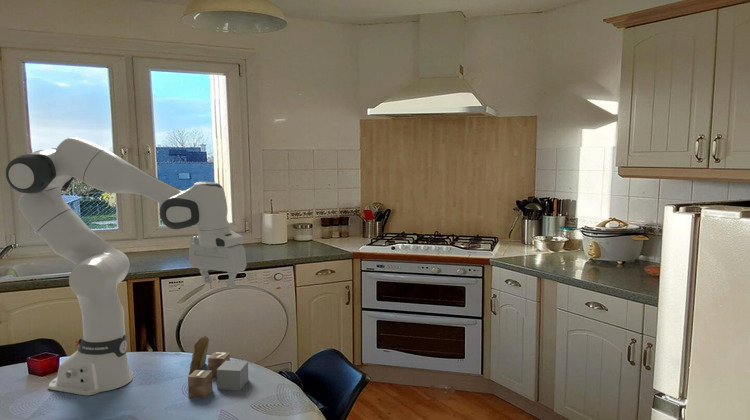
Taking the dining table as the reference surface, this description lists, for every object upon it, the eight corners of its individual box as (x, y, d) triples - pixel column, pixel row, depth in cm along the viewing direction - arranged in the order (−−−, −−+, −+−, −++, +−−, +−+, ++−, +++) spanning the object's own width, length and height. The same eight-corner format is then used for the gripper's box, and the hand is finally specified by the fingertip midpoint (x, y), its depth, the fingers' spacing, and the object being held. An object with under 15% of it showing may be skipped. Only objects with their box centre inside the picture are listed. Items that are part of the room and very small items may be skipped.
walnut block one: (188, 397, 153) (187, 376, 152) (196, 389, 158) (195, 369, 157) (205, 398, 152) (205, 377, 152) (212, 390, 157) (212, 369, 157)
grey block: (217, 389, 158) (216, 369, 158) (226, 379, 165) (225, 360, 164) (240, 390, 158) (240, 370, 157) (248, 380, 164) (248, 361, 164)
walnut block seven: (208, 376, 167) (207, 357, 166) (214, 370, 172) (214, 351, 171) (224, 377, 166) (223, 358, 166) (230, 371, 171) (229, 352, 170)
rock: (200, 371, 165) (221, 355, 174) (184, 348, 166) (206, 334, 174) (181, 385, 170) (203, 369, 179) (166, 363, 170) (188, 348, 179)
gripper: (181, 238, 158) (186, 284, 160) (231, 241, 147) (236, 290, 149) (198, 234, 163) (203, 278, 165) (247, 237, 152) (252, 284, 154)
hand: (219, 284), depth 157 cm, fingers open, 8 cm apart
